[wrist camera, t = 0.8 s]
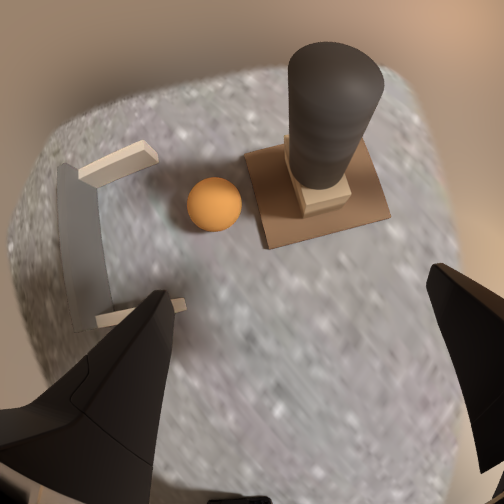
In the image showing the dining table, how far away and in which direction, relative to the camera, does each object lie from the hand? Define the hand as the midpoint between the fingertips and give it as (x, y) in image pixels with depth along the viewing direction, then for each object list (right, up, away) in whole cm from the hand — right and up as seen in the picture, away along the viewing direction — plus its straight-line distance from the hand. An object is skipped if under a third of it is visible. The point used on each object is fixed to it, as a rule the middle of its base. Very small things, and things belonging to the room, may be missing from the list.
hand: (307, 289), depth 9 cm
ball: (-5, +5, +12) cm, 14 cm away
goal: (-12, +2, +15) cm, 19 cm away
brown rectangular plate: (+3, +6, +13) cm, 15 cm away
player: (+3, +6, +13) cm, 15 cm away
